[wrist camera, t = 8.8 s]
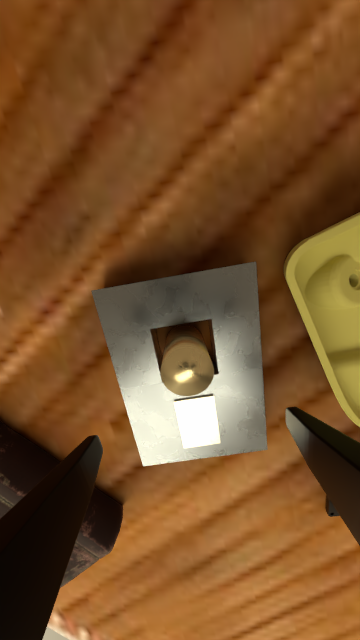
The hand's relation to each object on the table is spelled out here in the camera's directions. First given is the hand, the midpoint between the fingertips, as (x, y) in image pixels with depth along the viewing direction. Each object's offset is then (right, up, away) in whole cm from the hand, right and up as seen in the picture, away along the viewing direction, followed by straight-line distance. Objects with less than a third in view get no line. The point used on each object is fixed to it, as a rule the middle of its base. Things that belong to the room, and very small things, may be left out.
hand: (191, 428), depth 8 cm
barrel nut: (0, +3, +11) cm, 11 cm away
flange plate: (+1, 0, +11) cm, 11 cm away
